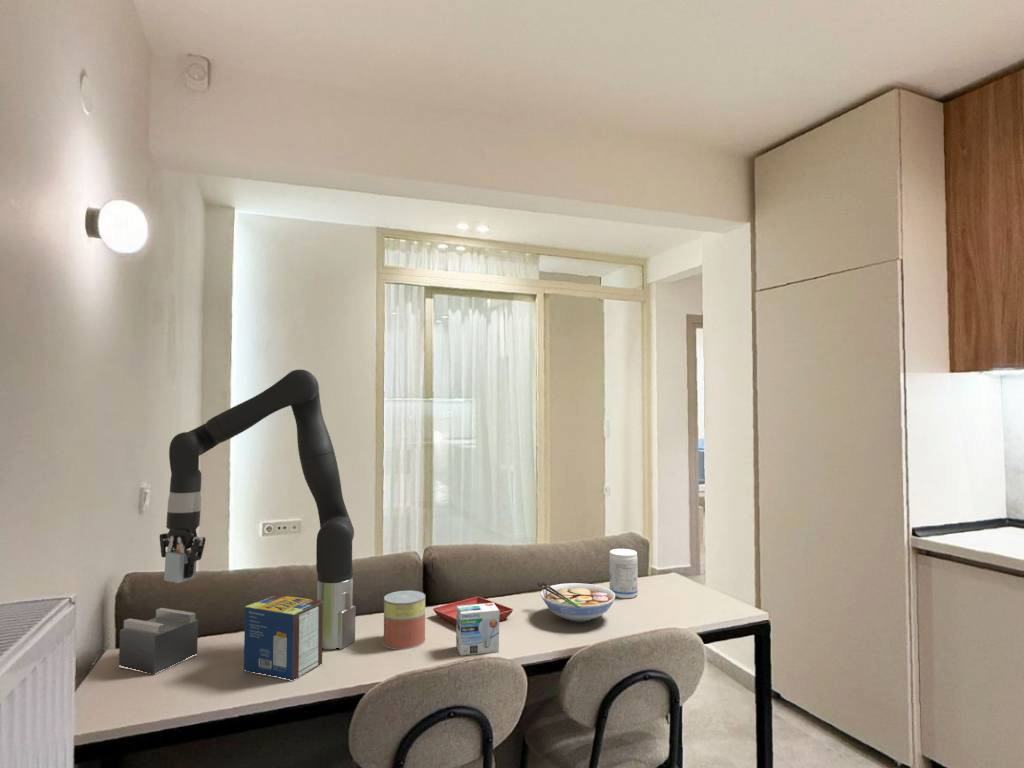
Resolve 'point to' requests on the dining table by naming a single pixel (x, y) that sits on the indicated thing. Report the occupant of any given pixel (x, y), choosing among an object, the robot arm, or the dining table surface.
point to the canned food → (404, 619)
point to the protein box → (283, 636)
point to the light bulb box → (477, 629)
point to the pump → (176, 566)
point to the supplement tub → (623, 573)
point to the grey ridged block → (158, 640)
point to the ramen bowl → (577, 600)
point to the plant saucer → (450, 610)
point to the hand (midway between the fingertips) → (179, 575)
